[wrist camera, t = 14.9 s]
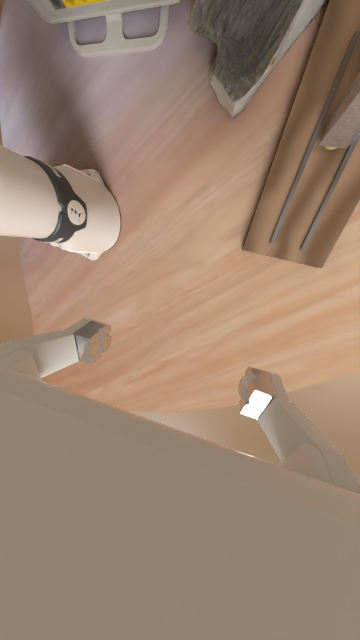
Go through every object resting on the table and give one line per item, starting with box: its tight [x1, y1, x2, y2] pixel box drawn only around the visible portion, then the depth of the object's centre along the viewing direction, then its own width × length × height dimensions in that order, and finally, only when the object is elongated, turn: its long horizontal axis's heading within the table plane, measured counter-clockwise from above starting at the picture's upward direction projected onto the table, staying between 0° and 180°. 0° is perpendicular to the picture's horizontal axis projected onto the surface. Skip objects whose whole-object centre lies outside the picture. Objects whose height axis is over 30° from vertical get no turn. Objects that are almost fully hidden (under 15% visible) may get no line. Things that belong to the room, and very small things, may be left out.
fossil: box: [187, 0, 326, 118], centre depth 23 cm, size 15×16×4 cm
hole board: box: [242, 0, 360, 268], centre depth 25 cm, size 14×34×3 cm, turn 167°
